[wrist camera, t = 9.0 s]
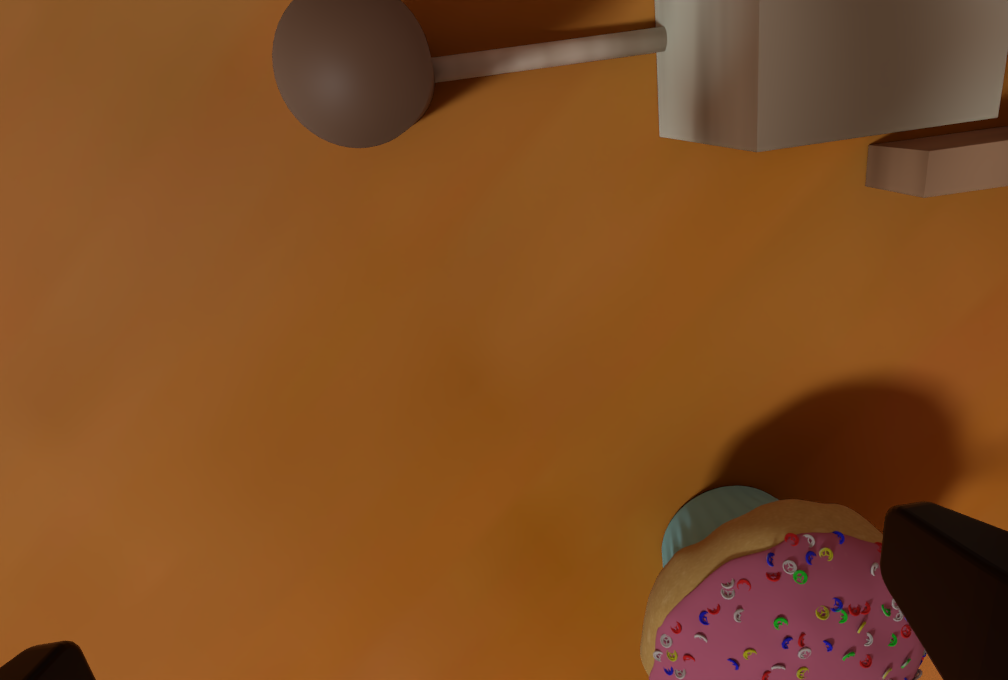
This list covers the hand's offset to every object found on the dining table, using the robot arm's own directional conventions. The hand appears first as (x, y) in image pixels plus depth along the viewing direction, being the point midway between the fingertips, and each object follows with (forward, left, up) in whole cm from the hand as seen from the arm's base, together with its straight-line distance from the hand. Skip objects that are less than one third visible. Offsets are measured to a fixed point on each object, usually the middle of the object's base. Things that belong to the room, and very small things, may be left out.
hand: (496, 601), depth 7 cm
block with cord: (-4, -6, -13) cm, 15 cm away
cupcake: (-8, +11, -13) cm, 19 cm away
